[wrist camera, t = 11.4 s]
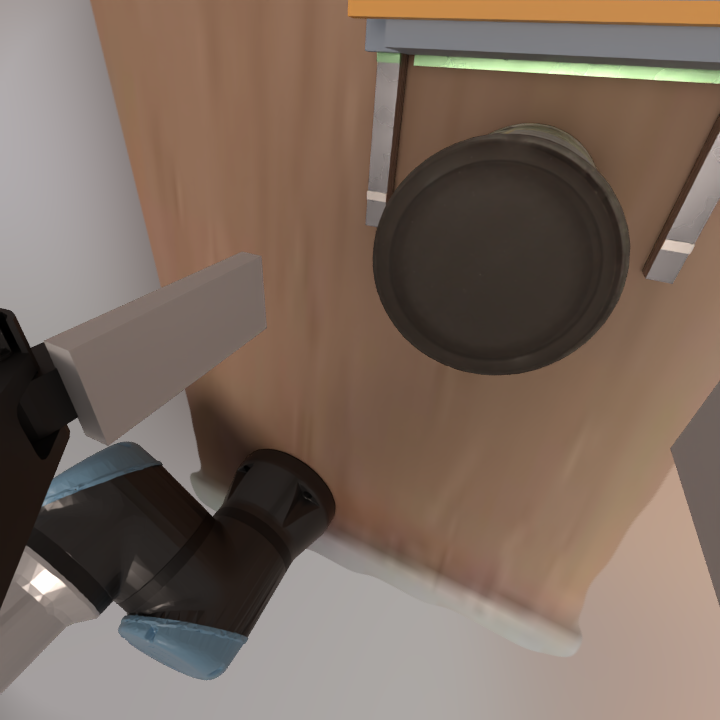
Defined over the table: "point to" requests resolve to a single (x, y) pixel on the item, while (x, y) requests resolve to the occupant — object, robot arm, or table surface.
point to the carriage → (549, 30)
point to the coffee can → (502, 251)
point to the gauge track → (716, 161)
